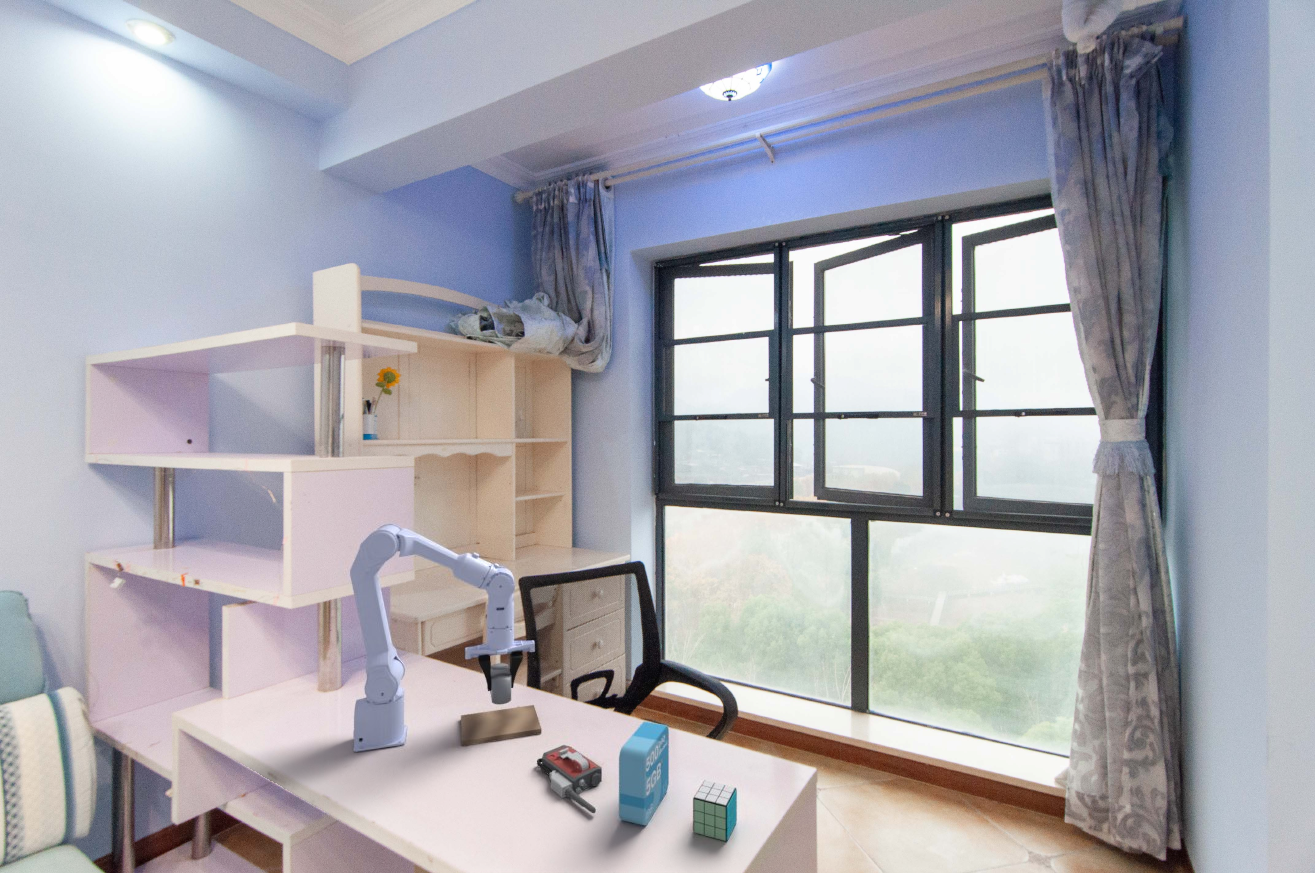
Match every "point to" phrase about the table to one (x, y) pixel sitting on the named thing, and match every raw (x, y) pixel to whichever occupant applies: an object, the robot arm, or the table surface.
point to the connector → (500, 683)
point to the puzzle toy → (715, 810)
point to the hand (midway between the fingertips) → (500, 687)
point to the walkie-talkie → (570, 773)
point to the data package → (643, 772)
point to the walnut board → (499, 725)
